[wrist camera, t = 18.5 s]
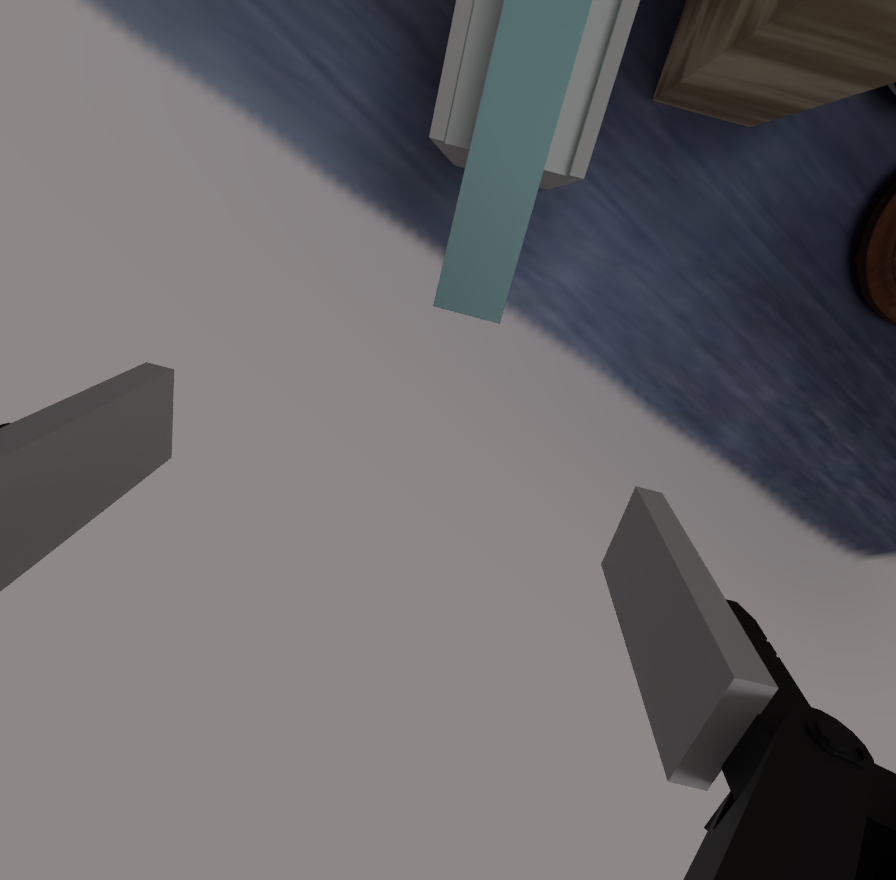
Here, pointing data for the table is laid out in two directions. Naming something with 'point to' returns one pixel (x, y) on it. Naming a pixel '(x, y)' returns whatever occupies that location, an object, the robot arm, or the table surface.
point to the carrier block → (582, 99)
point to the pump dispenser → (893, 87)
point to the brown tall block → (776, 56)
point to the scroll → (880, 258)
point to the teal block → (509, 151)
